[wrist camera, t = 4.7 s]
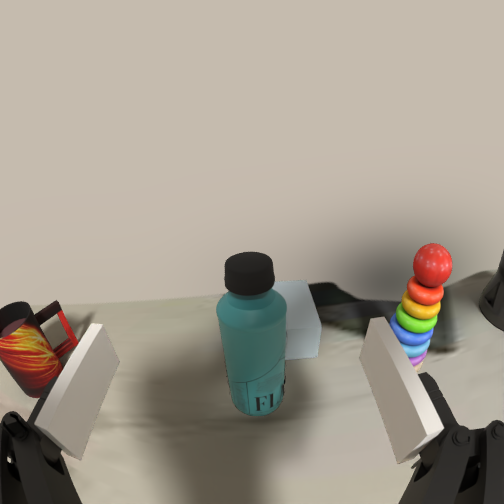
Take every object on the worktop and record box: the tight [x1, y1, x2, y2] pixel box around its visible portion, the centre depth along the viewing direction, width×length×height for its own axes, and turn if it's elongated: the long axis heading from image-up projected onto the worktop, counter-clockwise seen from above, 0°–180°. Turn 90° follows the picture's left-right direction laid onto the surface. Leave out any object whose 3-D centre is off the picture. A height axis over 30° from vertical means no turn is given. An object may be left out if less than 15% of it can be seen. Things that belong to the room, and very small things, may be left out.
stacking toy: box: [389, 243, 452, 372], centre depth 29 cm, size 8×8×19 cm
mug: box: [0, 300, 79, 398], centre depth 30 cm, size 10×14×12 cm
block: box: [272, 280, 322, 360], centre depth 41 cm, size 12×12×6 cm
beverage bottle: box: [216, 252, 288, 416], centre depth 26 cm, size 6×7×20 cm
